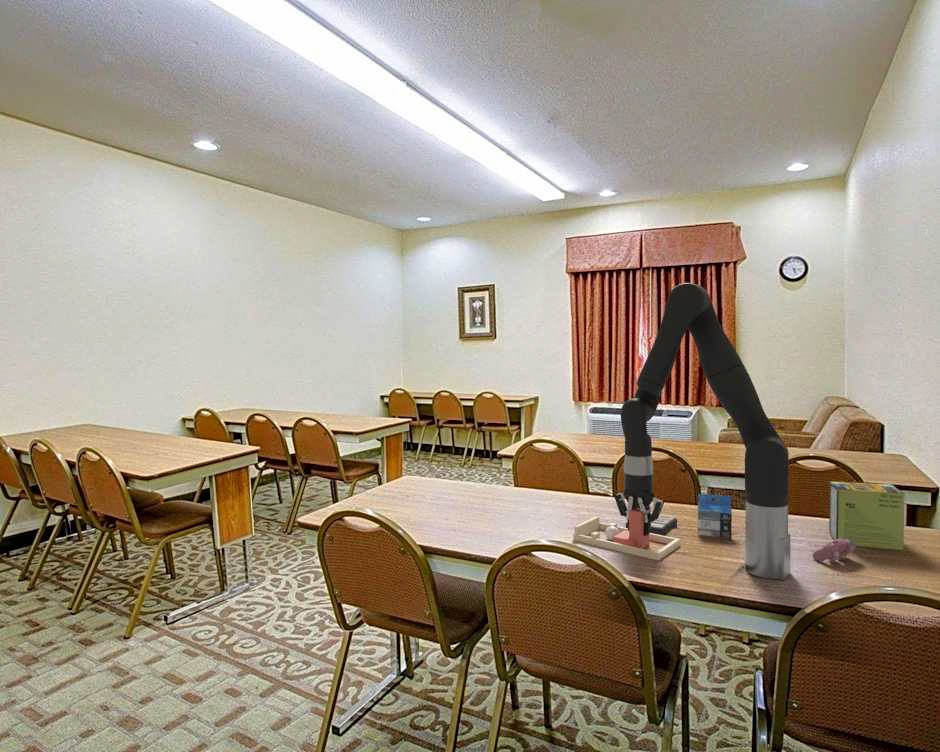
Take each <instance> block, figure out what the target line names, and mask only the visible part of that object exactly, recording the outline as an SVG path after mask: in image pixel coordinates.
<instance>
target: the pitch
mask: <svg viewBox="0 0 940 752" xmlns="http://www.w3.org/2000/svg"><path fill="white" fill-rule="evenodd" d="M610 526H614V527H616V528H617V529H618V530H619V533H621V532H622V531H624V530H626V531H629V530H628V529H627V528H626V527H623V526H618V523H615V522H610V523H609V524H608V523H605V522H600V516H597V515H596V516H594V517H591V518H590V519H587V520H585V521H583V522H581V523H579V524H577V525H574V533H573V534H572V535H573V536H572V538H573V541H575V542H579V543H584V544H589V545H591V546H592V545H593V546H596V547H601V548H605V549H609V550H613V551H618V552H622V553H626V554H629V555H634V556H639V557H643V558H646V559H650V560H655V561H660V560H662V559H663V558H665V557H666V556H668V555H669V554H670V553H671V552H673V551H674V550H676V549H677V548H679V547H680V546H681V539H680V538H676V537H671V536H667V535H666V536H665V535H663V536H662V535H657V534H653V533H650V534H649V541H653V542H657V543H662V544H666V545H664V546H663V547H662V548H660V549H659V550H657V551H653V550H649V549H645V548H643V549H641V548H637V547H632V546H628V545H623V544H619V543H615V542H613V541H610V540H606V539H601V533H600V532H598V531H599V530H602V531H606V529H607V528H608V527H610ZM589 535H590V536H589Z"/></svg>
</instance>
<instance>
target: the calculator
mask: <svg viewBox="0 0 940 752" xmlns="http://www.w3.org/2000/svg"><path fill="white" fill-rule="evenodd" d="M650 513H651V515H652V512H650ZM676 527H677V528H678V518H676V517H675V516H672V515H671V516H670V515H663V514H660V515H659V517H658V519H657V520H655V521H653V522H651V533H653V534H657V535H662V536H665V535H666V534H667V533H668V532H670V530H672V529H673V530H675V528H676ZM625 528H627V522H626V523H625ZM677 528H676V529H677Z"/></svg>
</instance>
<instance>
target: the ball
mask: <svg viewBox="0 0 940 752" xmlns="http://www.w3.org/2000/svg"><path fill="white" fill-rule="evenodd" d="M604 531H605V532H604V535H605V538H606V539H607V541H610V542H613V536H615V535H617V534H619V530H618V529H617V528H616V527H614V526H610V527H608V528H607V529H606V530H604Z"/></svg>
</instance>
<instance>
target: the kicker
mask: <svg viewBox="0 0 940 752" xmlns="http://www.w3.org/2000/svg"><path fill="white" fill-rule="evenodd" d="M612 542H615V543H619V544H623V545H628V546H632V547H637V548H641V549H645V548H646V547H648V546H649V545H650V540H649V535H648V536H644V519H643V513H642V512H641V510H640V509H638V508H634V509H632V510H629V531H626V530H624V531H622V532H621V533H619V534H617V535H615V536H613V541H612Z"/></svg>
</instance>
